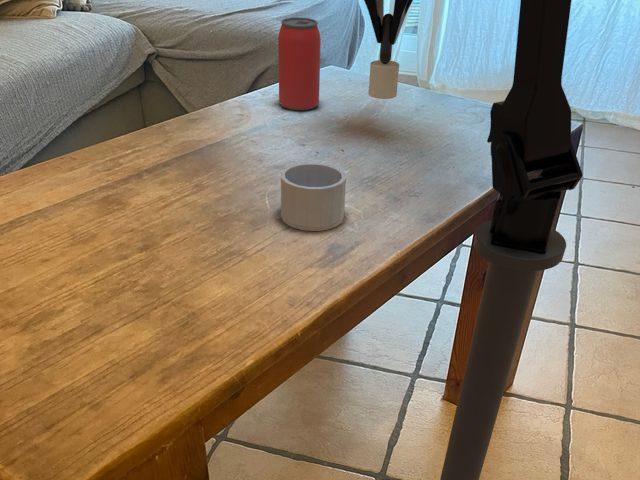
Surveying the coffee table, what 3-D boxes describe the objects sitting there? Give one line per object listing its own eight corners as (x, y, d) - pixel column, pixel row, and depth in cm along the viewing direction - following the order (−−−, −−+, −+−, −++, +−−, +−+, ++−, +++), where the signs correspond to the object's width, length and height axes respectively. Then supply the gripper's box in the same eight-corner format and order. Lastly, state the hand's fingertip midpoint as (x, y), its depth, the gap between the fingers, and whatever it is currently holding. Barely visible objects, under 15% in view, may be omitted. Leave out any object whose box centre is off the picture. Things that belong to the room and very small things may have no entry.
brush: (399, 92, 95) (407, 12, 89) (392, 100, 92) (399, 17, 86) (373, 89, 96) (378, 9, 90) (365, 96, 93) (370, 14, 87)
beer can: (327, 105, 109) (329, 21, 101) (301, 114, 105) (301, 28, 97) (296, 96, 112) (297, 14, 104) (270, 105, 108) (268, 21, 100)
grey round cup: (351, 209, 80) (353, 168, 77) (331, 235, 75) (333, 193, 72) (294, 199, 82) (294, 158, 79) (271, 224, 77) (270, 182, 73)
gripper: (486, -104, 83) (465, 38, 93) (345, -111, 87) (340, 25, 98) (470, -98, 75) (449, 56, 86) (316, -106, 80) (314, 41, 90)
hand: (386, 43), depth 90 cm, fingers closed on brush
